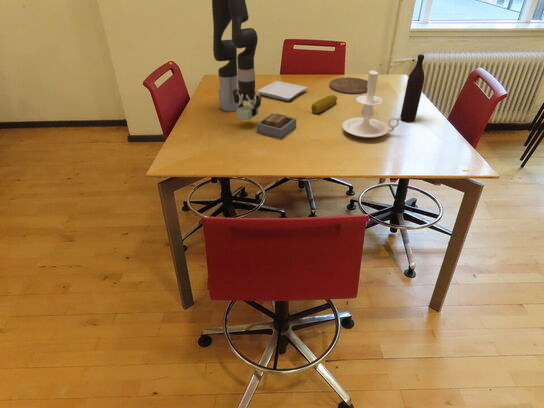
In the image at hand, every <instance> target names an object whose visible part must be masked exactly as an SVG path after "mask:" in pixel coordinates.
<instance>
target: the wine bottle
mask: <svg viewBox="0 0 544 408" xmlns="http://www.w3.org/2000/svg"><path fill="white" fill-rule="evenodd" d="M416 58H417V60H416V64H415V66H414V68H413V69H412V70H411V72H410V73H409V75H408V78H407V82H406V87H405V92H404V97H403V103H402V106H401V107H402V108H401V111H400V116H399V117H400V118H401V119H400V120H401V121H402V122H405V123H413V122H415V120H416V118H417V114H418V109H419V105H420V101H421V97H422V92H423V89H424V88H423V87H424V84H425V71H424V68H423V66H424V65H423V64H424V60H425V54H418V55H417V57H416Z"/></svg>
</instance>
